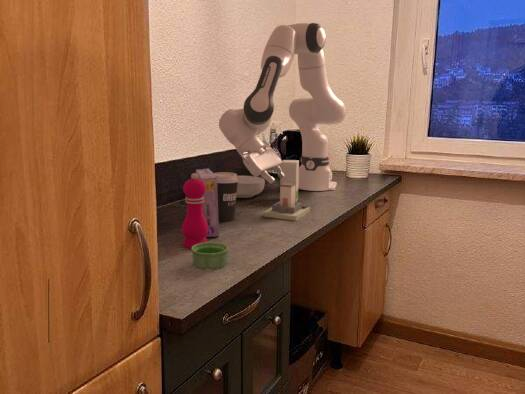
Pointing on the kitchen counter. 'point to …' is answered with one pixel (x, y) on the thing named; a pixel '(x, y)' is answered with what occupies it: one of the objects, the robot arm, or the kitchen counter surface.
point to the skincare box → (291, 174)
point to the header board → (287, 211)
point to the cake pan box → (210, 201)
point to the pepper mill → (194, 212)
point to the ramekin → (209, 255)
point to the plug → (287, 194)
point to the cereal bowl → (249, 186)
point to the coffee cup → (226, 195)
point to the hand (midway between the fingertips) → (278, 179)
